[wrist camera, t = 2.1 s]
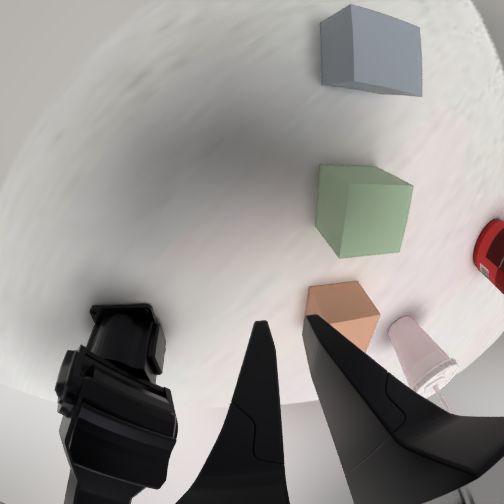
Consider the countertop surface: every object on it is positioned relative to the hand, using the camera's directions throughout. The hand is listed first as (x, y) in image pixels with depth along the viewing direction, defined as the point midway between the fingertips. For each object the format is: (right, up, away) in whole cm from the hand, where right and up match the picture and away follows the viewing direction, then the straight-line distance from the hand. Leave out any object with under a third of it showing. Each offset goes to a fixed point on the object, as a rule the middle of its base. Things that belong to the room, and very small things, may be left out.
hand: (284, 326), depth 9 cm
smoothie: (+18, -7, +21) cm, 28 cm away
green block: (+6, +7, +12) cm, 15 cm away
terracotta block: (+7, -3, +17) cm, 19 cm away
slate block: (+6, +16, +6) cm, 19 cm away
